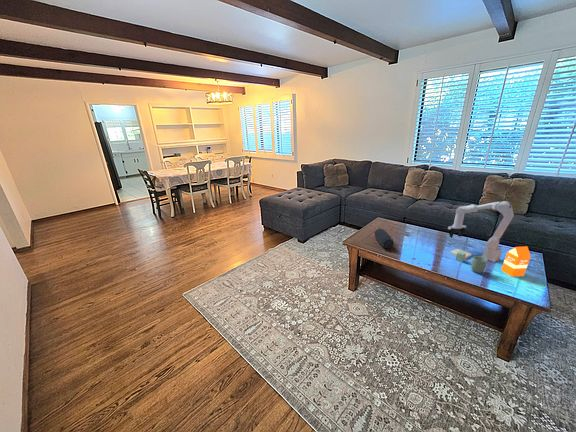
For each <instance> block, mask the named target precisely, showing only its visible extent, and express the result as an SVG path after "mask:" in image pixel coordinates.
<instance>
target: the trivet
mask: <svg viewBox="0 0 576 432" xmlns="http://www.w3.org/2000/svg"><path fill="white" fill-rule="evenodd" d="M458 252H463V253H466V255H465V259H464V260H466V259H468V258H470V257H472V255H473V254H472V253H471V252H469V251H466V250H462V249H460V248H456V249H453V250H452V251H450V255H452V256H455V257H456V256H457V253H458Z"/></svg>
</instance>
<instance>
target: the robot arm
mask: <svg viewBox="0 0 576 432" xmlns="http://www.w3.org/2000/svg"><path fill="white" fill-rule="evenodd" d="M488 209H492V210H494V211H496V210H497V211H498V213H500V214H501V215H502V216H503V218H502V220H501V221H500V223H499V225H498V227H497V228H496V229H495V231H494V233H493V235H492V236H491V237H490V238H489V239H488V240H487V241H486V243H485V247H484V250H483V253H482V255H480V256H481V257H484V258H486V259H487V260H488V261H490V262H493V263H495V262H497V261H499V260H500V258H501V254H502V250H501V249H500V248H499V247H498V246H499V244H500V240H501V238H502V237H503V235H504V233H505V232H506V229H507V228H508V226H509V225H510V223H511V222H512V220H513V218H514V216H515V215H514V210H513V206H512V204H511V202H509V201H507V200H503V201H494V202H490V203H484V204H478V205H477V204H473V203H471V204H470V205H463V206H462V205H461V206H458V207H457V208H456V209H455V217H454V221H453V224H452V225H449V226H448V227H447V231H448V235H449V238H452V239H453V237H454V234H455V232H456V230H457V229H458V231H457V236H458V237H459V238H460V237H462V235H463V233H465V232H466V231H467V230H466V229H467V225H464V218H465V214H470V213H476V212H478V211H479V210H488ZM455 229H456V230H455Z"/></svg>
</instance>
